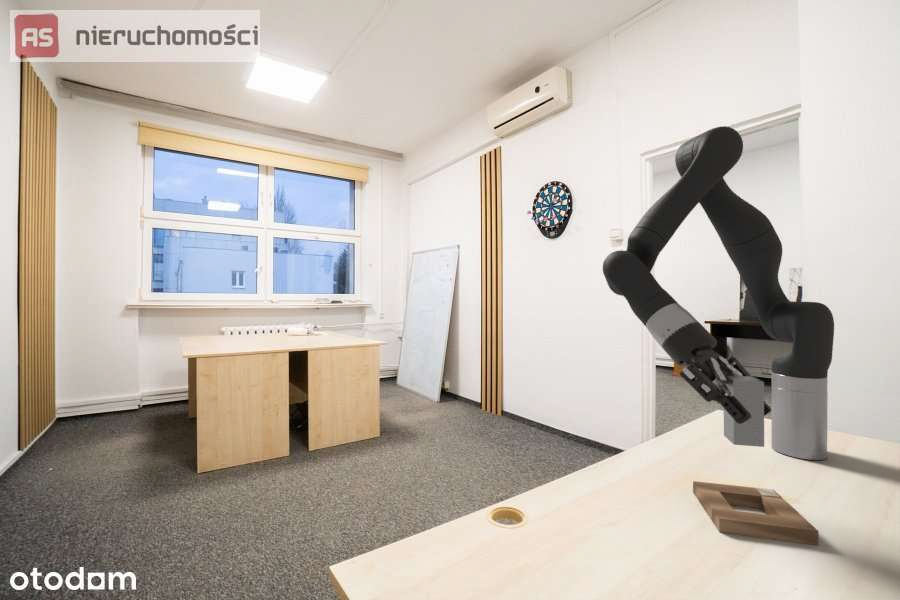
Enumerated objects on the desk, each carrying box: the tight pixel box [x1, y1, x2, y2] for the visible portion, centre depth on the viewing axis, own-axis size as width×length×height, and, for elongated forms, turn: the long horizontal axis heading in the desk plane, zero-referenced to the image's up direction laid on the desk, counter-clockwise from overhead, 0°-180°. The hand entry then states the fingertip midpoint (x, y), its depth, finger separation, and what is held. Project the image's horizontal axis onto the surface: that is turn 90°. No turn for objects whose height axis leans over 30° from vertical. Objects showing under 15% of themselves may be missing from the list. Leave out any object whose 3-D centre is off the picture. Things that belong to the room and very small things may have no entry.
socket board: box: [692, 480, 819, 546], centre depth 62 cm, size 12×12×2 cm
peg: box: [723, 375, 765, 448], centre depth 63 cm, size 4×4×10 cm
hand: (756, 417), depth 61 cm, fingers closed on peg, 5 cm apart
